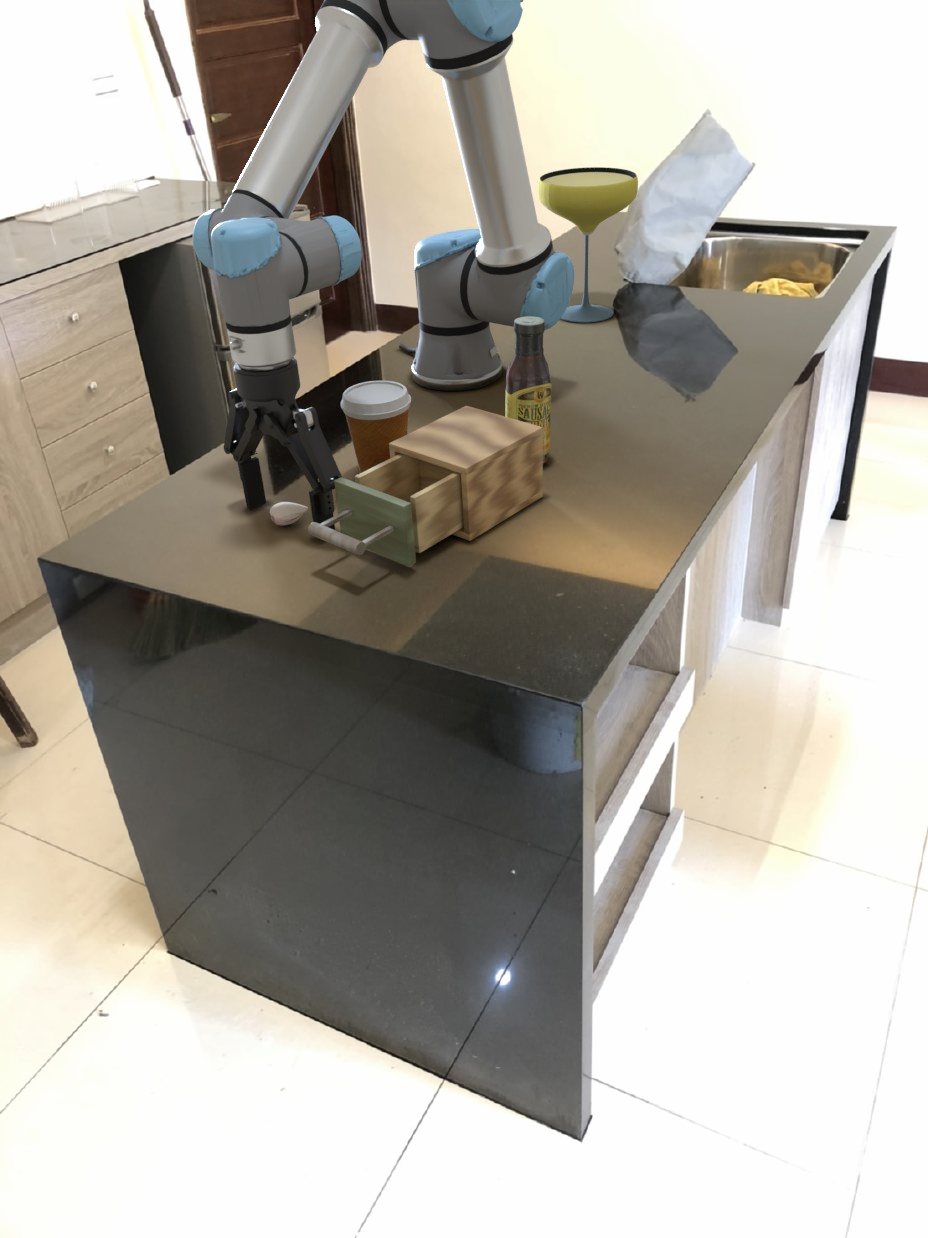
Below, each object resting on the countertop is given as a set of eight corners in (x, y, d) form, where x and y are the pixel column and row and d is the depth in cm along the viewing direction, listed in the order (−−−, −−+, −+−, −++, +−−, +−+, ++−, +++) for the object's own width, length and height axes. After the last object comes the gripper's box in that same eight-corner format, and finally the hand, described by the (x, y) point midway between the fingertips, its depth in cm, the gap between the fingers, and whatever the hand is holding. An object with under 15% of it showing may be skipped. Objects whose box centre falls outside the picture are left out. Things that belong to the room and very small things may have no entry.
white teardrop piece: (268, 518, 131) (265, 501, 130) (305, 509, 133) (302, 492, 132) (276, 532, 128) (273, 515, 127) (314, 523, 130) (311, 506, 128)
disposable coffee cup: (391, 494, 135) (383, 410, 129) (335, 480, 140) (324, 398, 133) (430, 467, 142) (424, 385, 135) (376, 454, 146) (367, 375, 140)
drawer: (371, 590, 113) (363, 528, 109) (303, 559, 120) (293, 500, 116) (484, 521, 126) (482, 464, 121) (417, 497, 132) (412, 441, 128)
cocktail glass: (569, 295, 207) (570, 164, 193) (648, 307, 197) (655, 170, 183) (521, 320, 195) (518, 182, 181) (603, 334, 185) (607, 189, 172)
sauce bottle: (519, 474, 138) (516, 331, 127) (497, 458, 143) (492, 319, 132) (560, 463, 141) (560, 321, 130) (536, 447, 146) (535, 310, 134)
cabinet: (470, 541, 124) (465, 468, 118) (395, 512, 131) (388, 443, 125) (543, 496, 133) (542, 426, 127) (469, 472, 140) (466, 405, 134)
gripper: (175, 349, 123) (208, 504, 135) (311, 391, 109) (334, 560, 121) (224, 333, 128) (251, 484, 140) (360, 371, 114) (378, 536, 125)
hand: (290, 520), depth 130 cm, fingers open, 13 cm apart
